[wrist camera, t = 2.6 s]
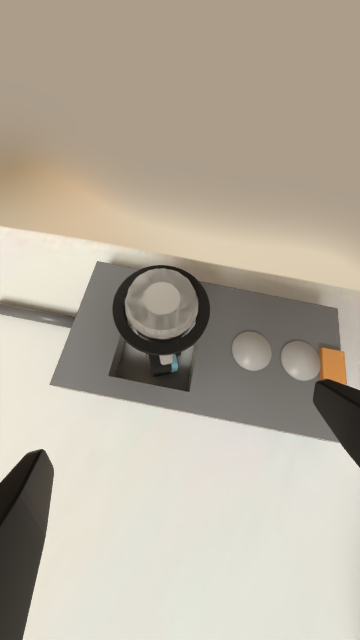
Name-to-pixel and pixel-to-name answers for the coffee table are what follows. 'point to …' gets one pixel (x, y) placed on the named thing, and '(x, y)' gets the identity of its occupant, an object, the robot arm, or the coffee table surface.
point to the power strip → (212, 356)
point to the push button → (161, 313)
